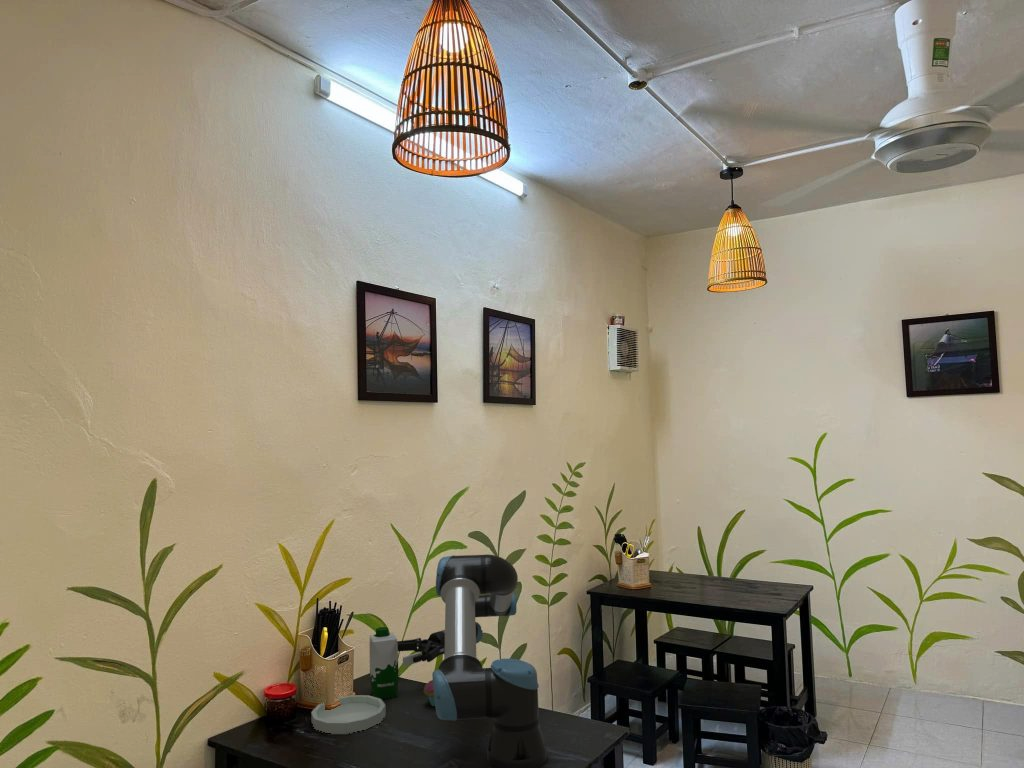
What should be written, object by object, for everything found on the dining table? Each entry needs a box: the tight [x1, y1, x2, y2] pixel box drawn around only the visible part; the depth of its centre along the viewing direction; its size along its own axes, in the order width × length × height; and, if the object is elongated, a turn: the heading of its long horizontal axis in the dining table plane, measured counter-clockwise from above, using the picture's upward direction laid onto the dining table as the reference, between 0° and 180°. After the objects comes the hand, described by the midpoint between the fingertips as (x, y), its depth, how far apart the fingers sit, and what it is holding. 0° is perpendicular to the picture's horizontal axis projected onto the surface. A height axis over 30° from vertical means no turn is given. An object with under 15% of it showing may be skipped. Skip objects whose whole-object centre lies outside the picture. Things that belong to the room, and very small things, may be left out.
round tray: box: [310, 694, 387, 735], centre depth 207 cm, size 20×20×3 cm
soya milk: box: [368, 626, 399, 700], centre depth 225 cm, size 9×9×20 cm
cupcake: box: [423, 679, 435, 707], centre depth 216 cm, size 9×8×12 cm
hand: (391, 657), depth 228 cm, fingers open, 13 cm apart
